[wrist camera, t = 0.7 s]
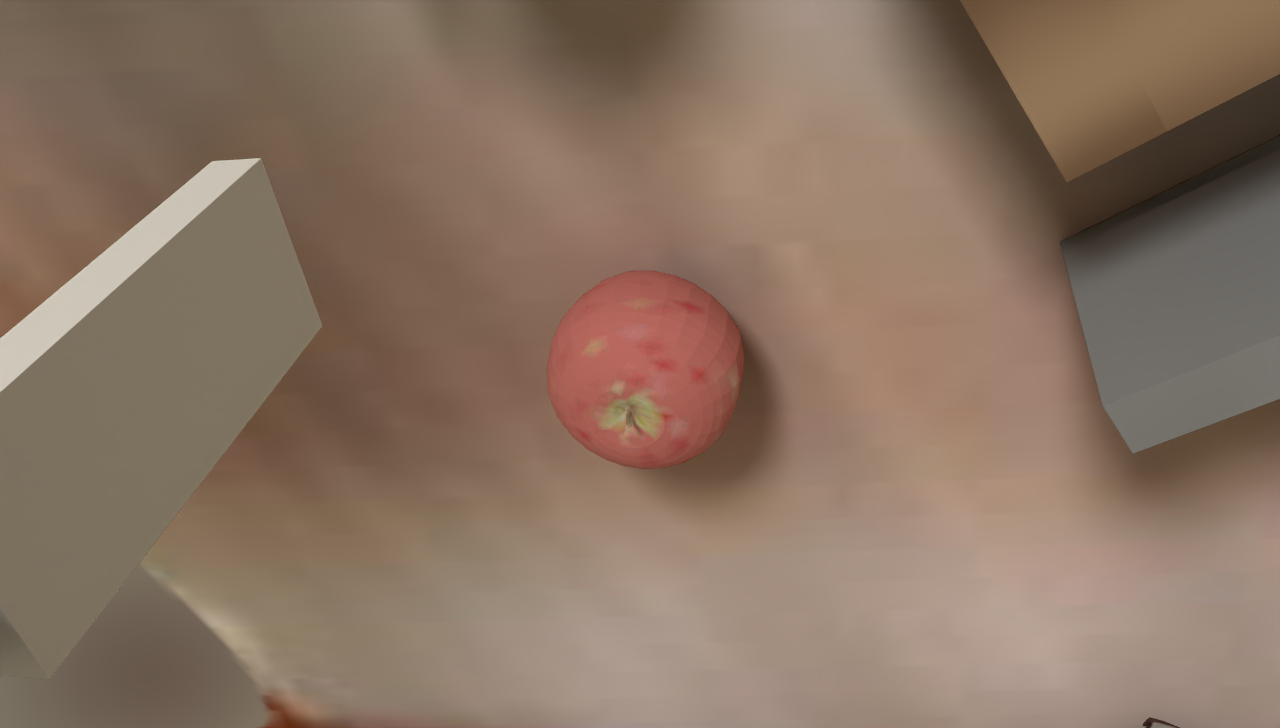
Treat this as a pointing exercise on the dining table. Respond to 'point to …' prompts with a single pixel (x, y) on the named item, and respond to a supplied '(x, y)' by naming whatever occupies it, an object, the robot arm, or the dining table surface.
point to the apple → (646, 369)
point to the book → (1157, 724)
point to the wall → (1185, 300)
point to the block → (1124, 66)
